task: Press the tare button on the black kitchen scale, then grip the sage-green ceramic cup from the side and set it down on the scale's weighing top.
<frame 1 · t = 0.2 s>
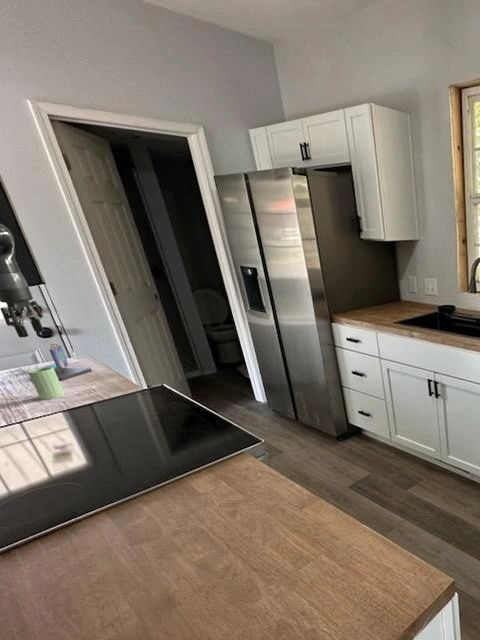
hand: (31, 334, 143), 21 cm above the worktop, tool pointing down, fingers open, 8 cm apart
flask: (63, 367, 176), on the worktop
tare button: (51, 367, 164), point 3 cm above the worktop, slide at 0.1 cm
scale: (63, 375, 165), on the worktop
cup: (52, 396, 145), on the worktop
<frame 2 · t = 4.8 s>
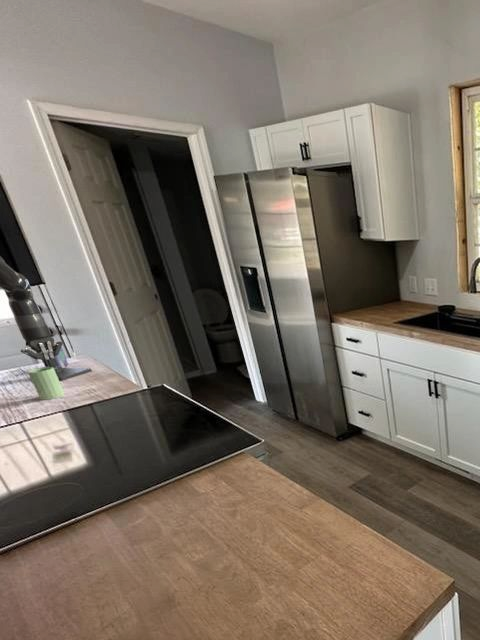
hand: (51, 367, 165), 3 cm above the worktop, tool pointing down, fingers closed
tare button: (52, 369, 165), point 2 cm above the worktop, slide at -0.8 cm, touching gripper
everything else where it was.
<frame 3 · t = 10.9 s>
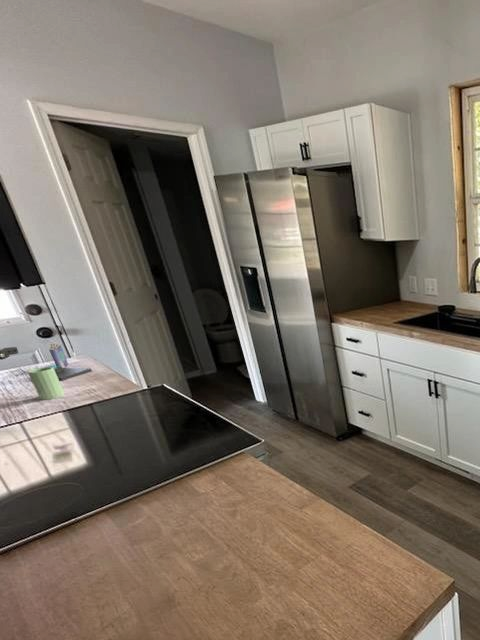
hand: (15, 350, 134), 18 cm above the worktop, tool horizontal, fingers closed
tare button: (51, 367, 164), point 3 cm above the worktop, slide at 0.1 cm
everything else where it was.
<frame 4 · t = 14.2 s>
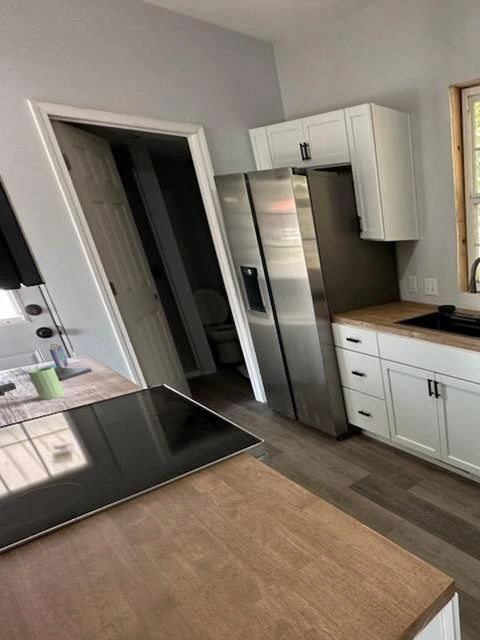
hand: (2, 385, 131), 9 cm above the worktop, tool horizontal, fingers open, 8 cm apart
nothing on the worktop moved.
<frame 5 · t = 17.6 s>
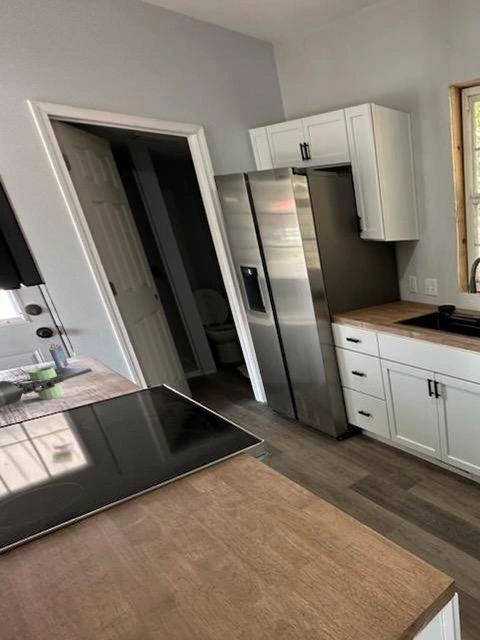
hand: (53, 378, 145), 6 cm above the worktop, tool horizontal, fingers closed on cup, 6 cm apart
cup: (52, 396, 145), on the worktop, touching gripper
everything else where it was.
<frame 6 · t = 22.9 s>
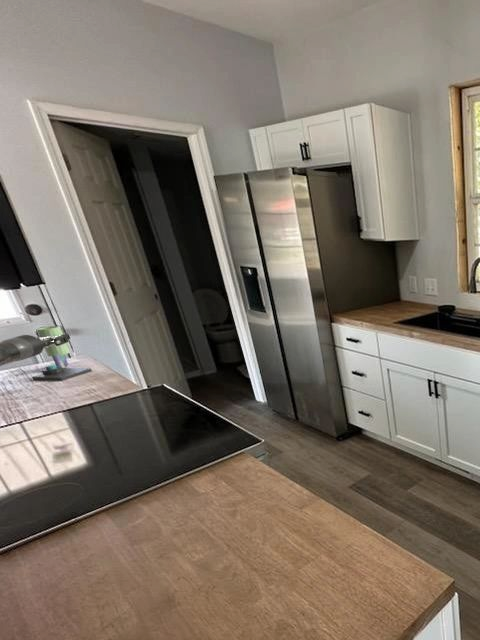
hand: (57, 336, 155), 17 cm above the worktop, tool horizontal, fingers closed on cup, 6 cm apart
cup: (59, 353, 155), point 11 cm above the worktop, touching gripper
everything else where it was.
when the fingers open (7 cm above the worktop, at t = 28.3 s): cup stays where it is, resting on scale.
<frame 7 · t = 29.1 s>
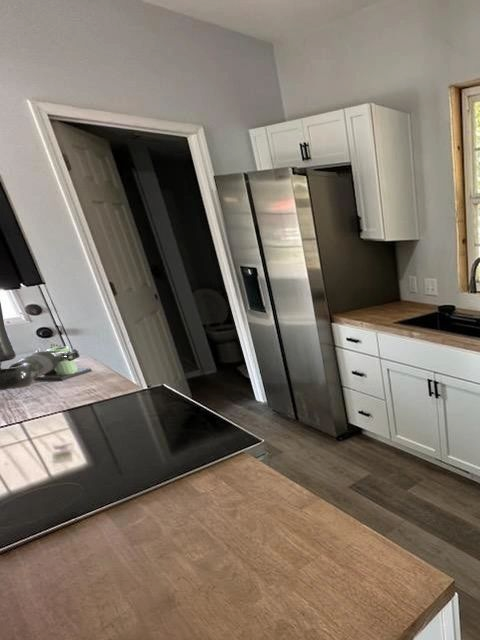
hand: (61, 352, 163), 9 cm above the worktop, tool horizontal, fingers open, 8 cm apart
cup: (67, 372, 164), point 1 cm above the worktop, touching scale
everything else where it was.
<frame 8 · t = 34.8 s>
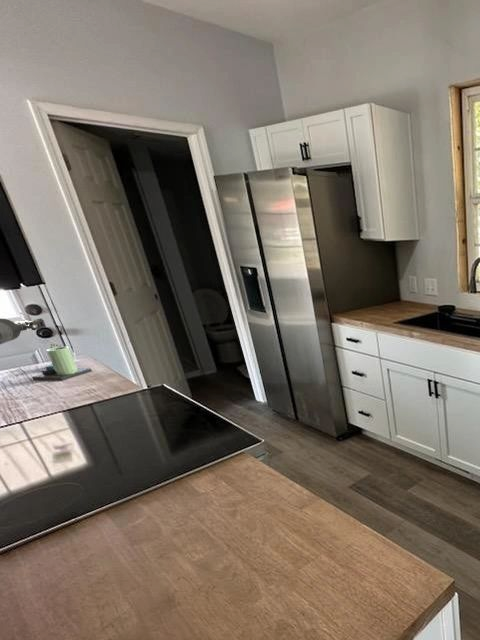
hand: (25, 322, 147), 24 cm above the worktop, tool horizontal, fingers open, 8 cm apart
nothing on the worktop moved.
at the end: tare button pushed in 1.0 cm at the most during the clip, back to where it started at the end; cup inside the target area on the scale (0.4 cm from its centre), point 1.4 cm above the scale's base; cup touching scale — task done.
